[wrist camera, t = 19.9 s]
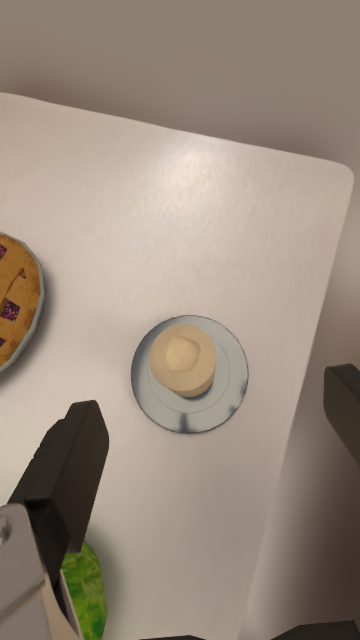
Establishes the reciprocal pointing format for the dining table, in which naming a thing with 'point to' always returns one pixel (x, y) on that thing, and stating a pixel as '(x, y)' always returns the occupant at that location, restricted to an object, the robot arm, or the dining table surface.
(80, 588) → the lettuce
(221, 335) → the saucer
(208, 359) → the candle
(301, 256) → the dining table surface
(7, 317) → the pie
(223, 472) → the dining table surface
